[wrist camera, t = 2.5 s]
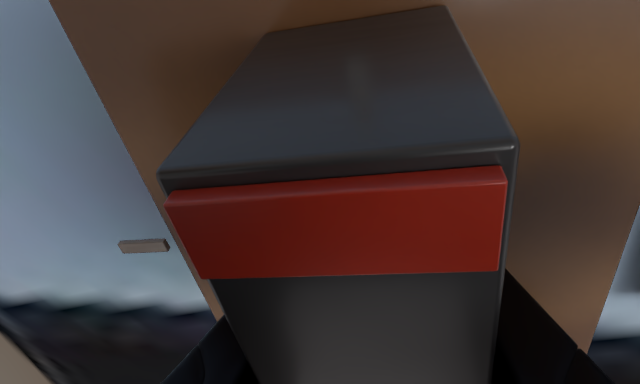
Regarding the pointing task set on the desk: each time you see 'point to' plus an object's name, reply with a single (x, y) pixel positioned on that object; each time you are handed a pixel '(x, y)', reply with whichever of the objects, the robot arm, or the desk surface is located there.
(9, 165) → the desk surface
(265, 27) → the base
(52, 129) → the desk surface
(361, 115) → the box
